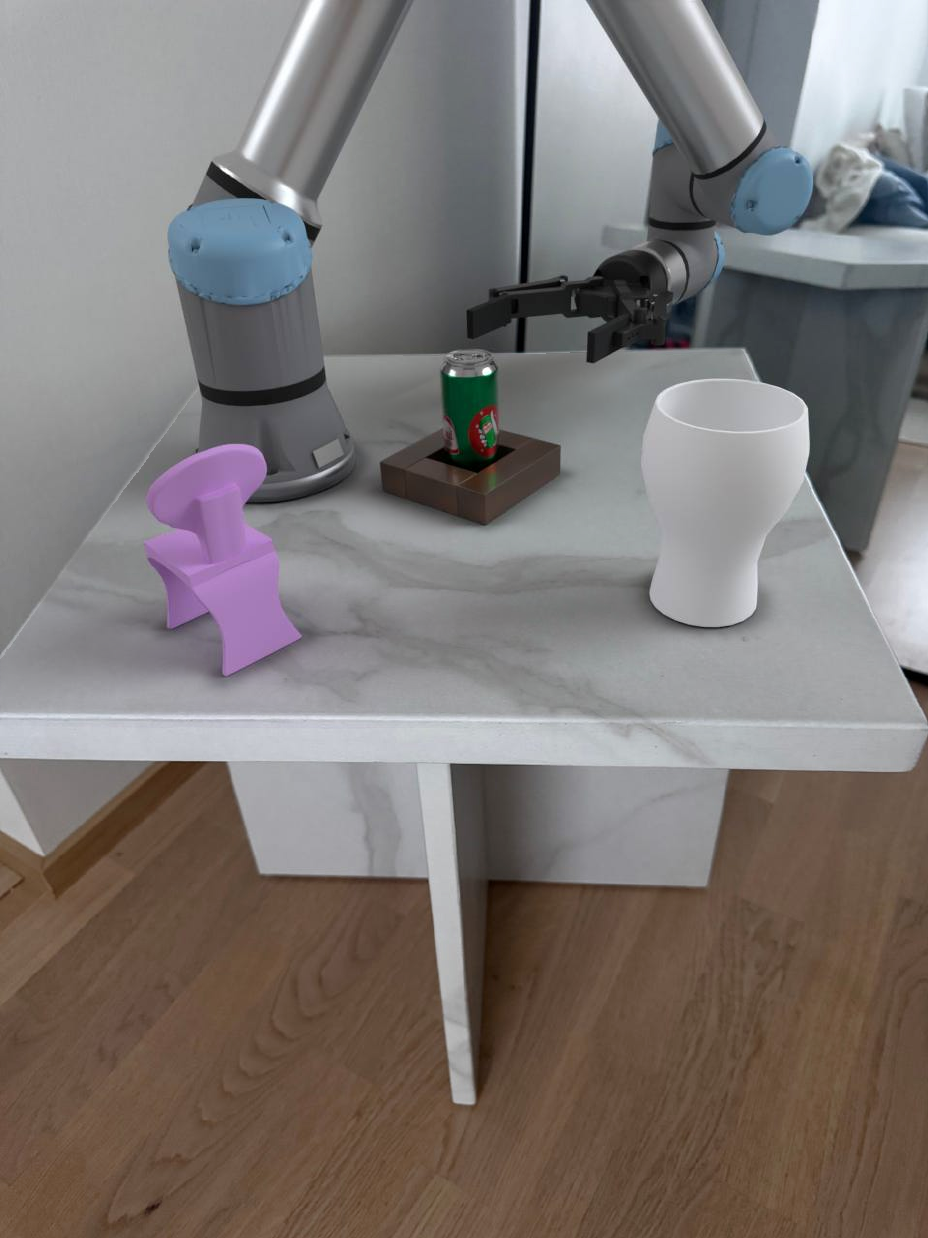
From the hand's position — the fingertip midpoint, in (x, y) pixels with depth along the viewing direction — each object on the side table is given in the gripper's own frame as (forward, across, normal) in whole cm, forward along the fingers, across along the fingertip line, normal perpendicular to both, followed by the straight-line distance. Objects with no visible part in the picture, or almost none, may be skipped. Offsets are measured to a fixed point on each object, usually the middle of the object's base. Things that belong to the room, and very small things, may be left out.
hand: (527, 335), depth 81 cm
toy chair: (+38, 0, -12) cm, 40 cm away
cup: (+15, -26, -12) cm, 32 cm away
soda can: (+9, 0, -12) cm, 15 cm away
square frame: (+9, 0, -11) cm, 15 cm away
